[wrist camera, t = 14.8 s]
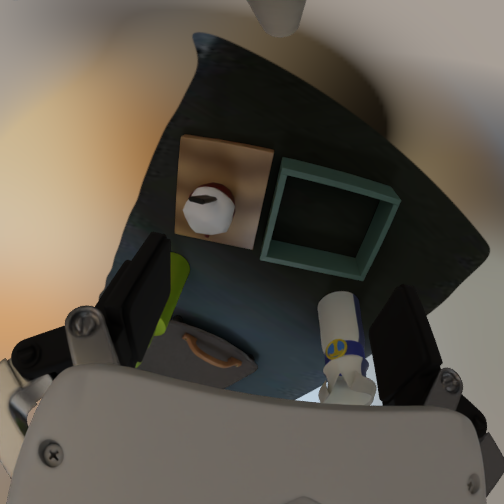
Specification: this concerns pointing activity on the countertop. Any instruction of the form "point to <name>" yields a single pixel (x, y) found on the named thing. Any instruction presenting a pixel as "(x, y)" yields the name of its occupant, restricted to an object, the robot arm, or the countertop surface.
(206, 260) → the countertop surface
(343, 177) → the crate
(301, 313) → the countertop surface
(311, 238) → the countertop surface
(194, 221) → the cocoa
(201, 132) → the countertop surface
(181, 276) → the soap dispenser
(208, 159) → the cutting board
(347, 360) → the water bottle
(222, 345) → the serving tray
